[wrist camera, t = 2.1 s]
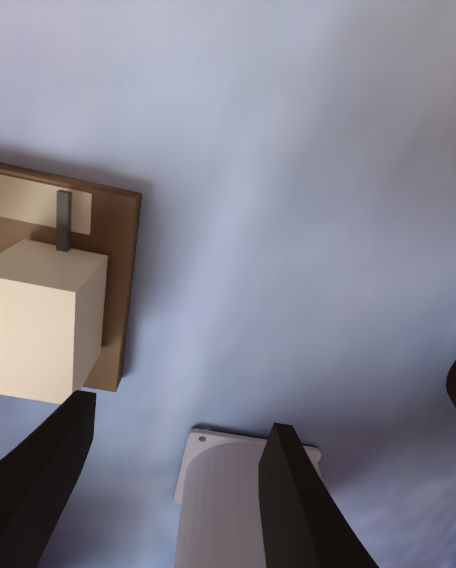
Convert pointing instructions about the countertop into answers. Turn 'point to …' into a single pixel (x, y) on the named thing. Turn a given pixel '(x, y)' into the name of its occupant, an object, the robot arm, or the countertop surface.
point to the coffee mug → (452, 383)
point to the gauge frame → (80, 244)
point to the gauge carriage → (50, 314)
